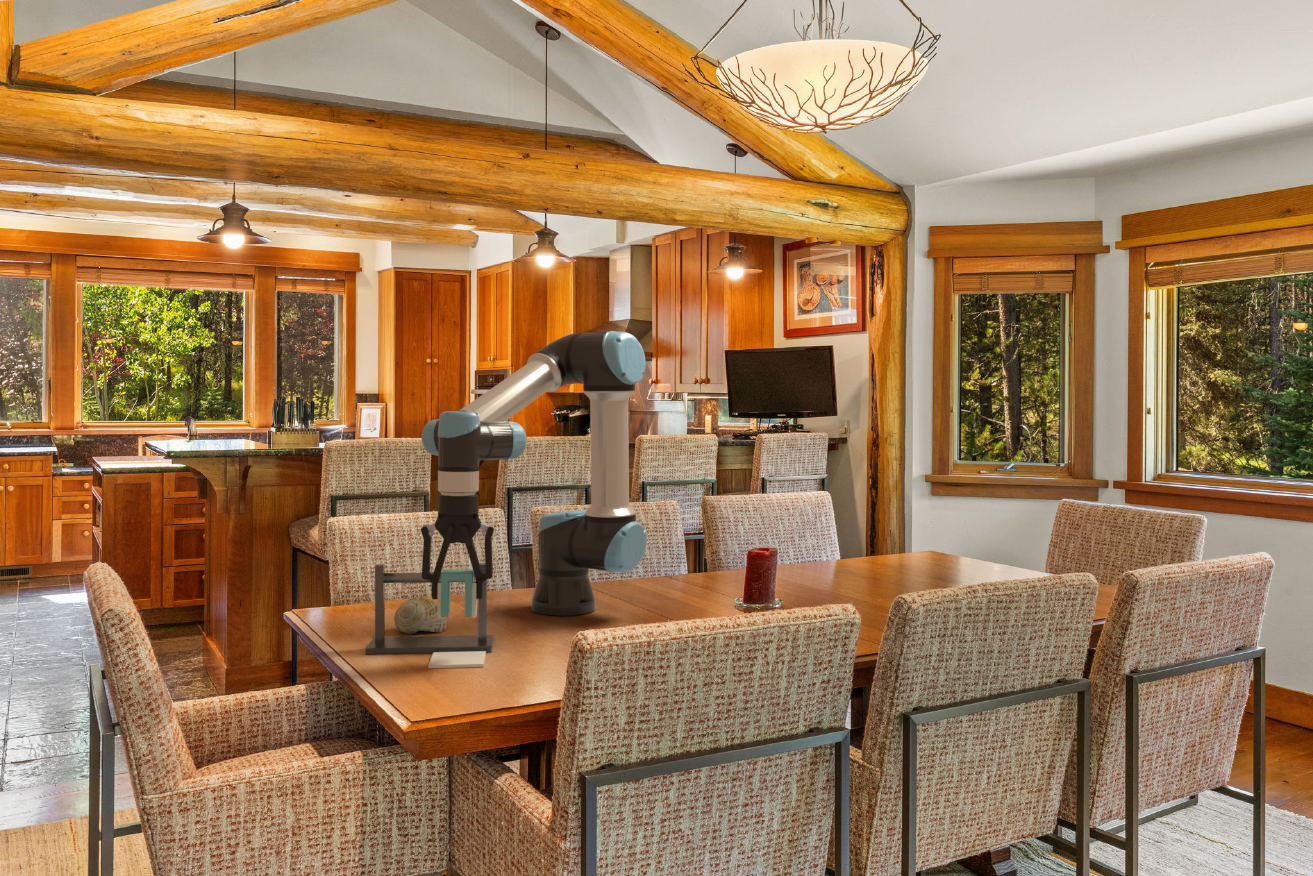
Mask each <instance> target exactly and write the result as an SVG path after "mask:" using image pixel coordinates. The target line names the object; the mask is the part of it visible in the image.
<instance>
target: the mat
mask: <svg viewBox="0 0 1313 876" xmlns="http://www.w3.org/2000/svg"><path fill="white" fill-rule="evenodd" d="M486 655H487V652H486V651H473V652H433V653H432V655H431V658H430V660H429V663H428V665H427V667H428V669H460V668H461V669H462V668H465V669H466V668H484V667H485V663H486V662H485V661H486Z"/></svg>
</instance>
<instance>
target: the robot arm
mask: <svg viewBox="0 0 1313 876" xmlns="http://www.w3.org/2000/svg"><path fill="white" fill-rule="evenodd" d="M646 365H647V364H646V355H645V352H644V349H643V347H642V345H641V343H640V342H639V340H638V339H637V338H636V337H635V335H633V334H631V333H629V332H625V331H615V330H611V331H598V332H597V331H595V332H593V331H592V332H574V333H570V334H567V335H565V336H561V337H560V338H558V339H556V340H554V341H552V342H550V343H548V344H547V345H545V346H544V347H542V348H541V349H539V350H537V351H536V352H535V353H533V354H532V355H530V356H529V357H528V359H527V361H526V364H525V365H524V366H522V367H521V368H519V369H517V370H516V371H515V372H513V373H512V374H511V375H509V376H508V377H506V378H505V379H503V380H502V381H500V382H499V383H498V384H496V385H494V386H493V387H492V388H490V389H489V390H487V391H486V392H484V393H483V394H482V395H480V396H479V397H477V398H475V399H474V400H472V401H471V402H469V404H467V405H466V406H464V407H462V408H460V409H459V410H458V411H457V410H456V411H449V410H447V411H443V412H441V414H439V418H438V419H432V420H430V421H428V422H427V423H426V424H425V425H424V427H423V430H422V432H421V443H422V446H423V448H424V449H425V451H426V452H427V453H429V454H430V455H433V456H438V457H437V459H438V463H437V465H438V467H437V468H438V470H437V491H438V492H439V495H437V517H436V519H435V520H436V521H434V523H432V524H429V525H428V524H426V525H425V524H424V525H422V527H421V528H420V532H421V536H422V539H423V546H422V547H423V548H422V561H421V562H422V563H421V565H422V566H421V573H422V578H423V579H426V580H429V581H431V583H430V584H431V600H436V604H437V618H442V617H441V581H439V578H440V574H441V572H443V567H444V564H445V561H446V557H447V554H448V550H449V549H450V545H451V544H456V543H457V544H464V545H465V548H466V550H467V554H468V557H469V561H470V563H471V564H470V565H471V567H472V568H471V569H473V571H474V575H475V578H476V581H473V582H472V616H471V618H474V619H475V618H477V615H478V614H477V613H478V611H477V610H478V608H477V607H478V599H482V596H483V582H484V581H485V580H487V581H488V580H491V579H492V577H493V576H494V575H493V574H494V573H493V571H494V569H493V568H494V567H493V566H494V565H493V546H492V545H493V544H492V543H493V542H492V537H493V534H494V532H495V526H494V525H493V524H492V525H491V524H490V525H487V524H484V523H483V522H482V521H481V520H480V516H479V510H480V509H479V506H480V504H479V502H480V501H479V496H478V494H477V492H479V490H480V462H481V461H500V460H503V461H509V460H513V459H517V458H519V457H521V455H523V453H524V452H525V450H526V448H527V433H526V431H525V429H524V428H523V426H522V425H520V424H519V423H518V422H515V421H509V420H510V419H511V418H513V417H514V416H515V415H516V414H518V413H519V412H521V411H522V410H523V409H525V408H526V407H528V406H529V405H530V404H532V403H533V402H534V401H536V400H537V399H539V398H540V397H541V396H542V395H544V394H545V393H546V392H547V393H553V392H555V391H557V390H558V389H560V388H561V387H565V386H568V385H577V384H581V385H582V386H583V387H582V389H583V390H582V391H583V394H584V395H585V396H587V398H588V399H589V402H590V403H589V407H590V408H589V409H590V410H589V411H590V412H589V413H590V414H589V417H590V499H591V500H590V501H591V502H590V506H589V507H588V508H587V509H586V510H584V509H583V510H581V509H580V510H571V511H569V510H568V511H561V512H559V511H558V512H553V513H552V512H550V513H546V514H544V515H541V517H540V519H539V528H538V529H539V530H538V579H537V581H536V582H537V583H536V585H535V588H534V591H533V594H532V597H531V603H530V604H531V607H530V608H531V609H530V610H531V611H532V612H533V613H537V614H540V615H546V616H547V615H548V616H557V617H558V616H560V617H561V616H565V617H566V616H578V615H584V614H588V613H589V614H590V613H593V612H595V610H596V608H597V604H596V602H597V601H596V596H595V593H594V590H593V586H592V583H591V580H590V578H589V577H590V576H589V569H590V570H597V571H603V572H608V573H610V574H614V573H619V574H620V573H621V574H624V573H625V574H626V573H629V572H631V571H633V570H635V568H637V566H638V565H640V562H641V561H642V560H643V558H644V555H645V551H646V548H647V542H648V540H647V539H648V536H647V531H646V529H645V527H644V526H643V525H642V524H641V523H640V522H639V521H637V516H636V515H637V513H636V510H635V509H634V508H633V507H632V506H631V505H630V470H629V469H630V462H629V461H630V459H629V457H630V456H629V455H630V451H629V449H630V448H629V447H630V446H629V445H630V443H629V441H630V439H629V438H630V437H629V436H630V435H629V429H630V427H629V399H630V398H631V397H632V396H633V395H634V394H635V393H636V384H638V383H639V382H640V381H642V379H643V378H644V375H645V372H646V367H647V366H646ZM435 530H437V532H438V533H439V535H440V537H442V539H443V542H442V543H441V546H440V551H439V554H438V558H437V560H436V564H435V567H434V570H433V572H434V573H431V560H432V558H431V556H432V542H433V541H432V540H433V539H432V537H433V536H434V535H435ZM479 530H480V531H481V535H482V536H483V537H484V563H485V570H486V572H485V573H482V571H481V567H480V564H479V563H480V560H479V558H478V553H477V551H476V547H475V542H474V539H473V538H474V537H475V535H476V534H477V532H478V531H479Z"/></svg>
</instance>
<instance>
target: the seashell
mask: <svg viewBox="0 0 1313 876" xmlns="http://www.w3.org/2000/svg"><path fill="white" fill-rule="evenodd" d="M393 620H394V625H395V627H396V628H397V630H398V631H400V632H402V633H404V634H409V635H410V634H411V635H412V634H415V633H417V632H419V631H420V632H421V631H423V632H434V633H444V631H446V630H447V623H448V622H447V621H448V620H447V617H442V618H437V602H435V601H434V600H433V599H429V598H428V597H427V598H426V597H421V596H418V597H413V598H409V599H407V600H405V601H404V602H402V603H401V604H400V605H399V607H397V609H396V611H395V613H394V615H393Z"/></svg>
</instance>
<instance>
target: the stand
mask: <svg viewBox="0 0 1313 876" xmlns="http://www.w3.org/2000/svg"><path fill="white" fill-rule="evenodd" d="M479 564H480V567H481V571H482V573H485V572H486V570H485V562H483V563H480V562H479ZM385 566H386V564H381V563H379V564H378V563H376V564H375V565H374V636H372V638H371V640H370V641H369V643H368V644H367V646H366V647H365V650H364V651H365V655H367V656H369V655H371V656H372V655H411V654H412V655H413V654H415V655H417V654H420V655H421V654H423V655H424V654H433V652H473V651H486V653H492V652H493V646H494V641H495V640H494V638H495V637H494V634H488V579H487V580H485V581H484V582H483V596H482V599H477V607H478V608H477V610H478V611H477V613H478V614H477V615H478V617H477V618H478V620H477V621H478V622H477V623H478V626H477V627H478V628H477V630H478V632H477V634H474V635H473V634H469V635H468V634H467V635H465V634H464V635H462V634H460V635H457V634H456V635H414V636H413V635H412V636H411V635H409V636H408V635H407V636H385V634H386V629H385V628H386V627H385V626H386V620H385V619H386V618H385V616H386V615H385V613H386V612H385V611H386V608H385V606H386V603H385V600H386V596H385V594H386V590H385V589H386V587H385V586H386V584H421V583H423V584H425V583H426V584H427V583H429V584H432V583H431V581H429V580H426V579H423V578H422V572H386V569H385V568H386V567H385ZM442 572H443V571H441V574H442ZM430 573H434V571H433V572H431V571H430ZM441 574H440V578H439V581H441ZM474 581H476V578H475V575H474ZM450 583H465V581H450Z"/></svg>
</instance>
